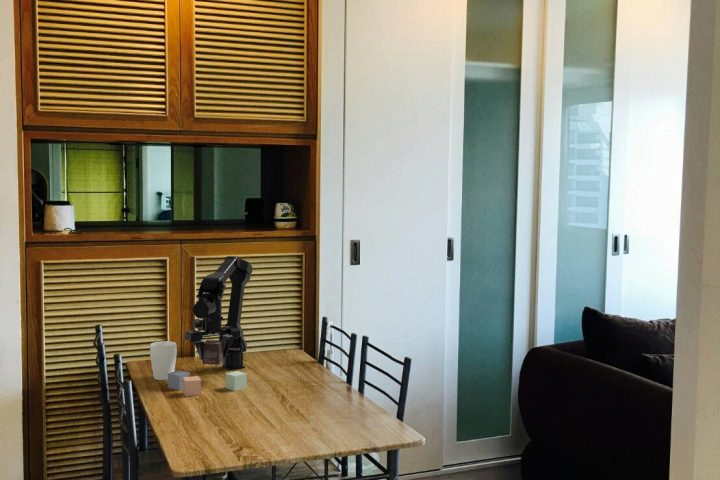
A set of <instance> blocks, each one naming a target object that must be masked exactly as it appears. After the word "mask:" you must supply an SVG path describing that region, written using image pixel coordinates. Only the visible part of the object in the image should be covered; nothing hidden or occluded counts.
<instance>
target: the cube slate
mask: <svg viewBox="0 0 720 480" xmlns="http://www.w3.org/2000/svg"><path fill="white" fill-rule="evenodd" d="M190 375H191V373H190V371H183V370H179V369H178V370H174V372H171V373H168V380H167V389H170V390H171V389H172V390H174V391H175V390H177V391H183V377H191V376H190Z"/></svg>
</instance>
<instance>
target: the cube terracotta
mask: <svg viewBox="0 0 720 480" xmlns="http://www.w3.org/2000/svg"><path fill="white" fill-rule="evenodd" d="M182 393H183V395H184V397H193V396H201V395H202V379H201V378H200V377H199V375H196V376H190V377H183V389H182Z"/></svg>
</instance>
